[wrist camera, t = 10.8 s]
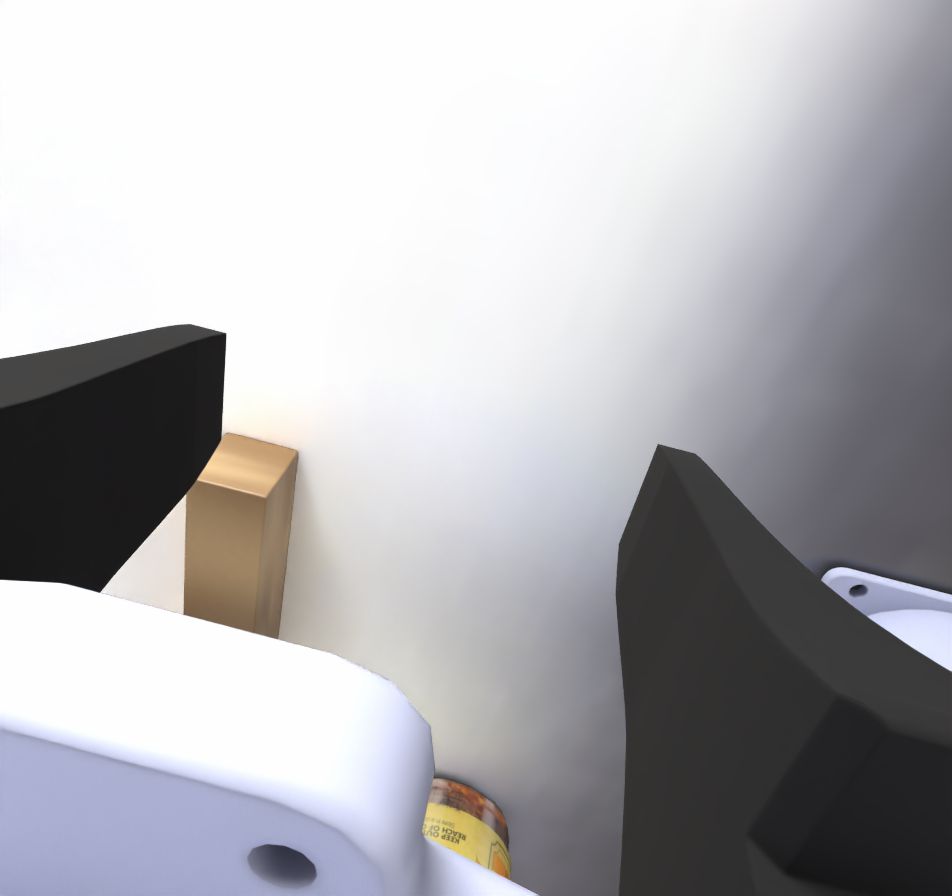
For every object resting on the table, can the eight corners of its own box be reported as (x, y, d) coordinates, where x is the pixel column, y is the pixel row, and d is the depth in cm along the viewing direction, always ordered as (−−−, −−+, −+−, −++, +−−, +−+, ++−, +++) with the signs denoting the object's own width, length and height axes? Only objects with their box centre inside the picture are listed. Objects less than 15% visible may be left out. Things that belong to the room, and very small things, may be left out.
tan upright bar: (296, 833, 34) (273, 894, 32) (168, 798, 34) (135, 858, 32) (353, 464, 24) (326, 512, 22) (172, 417, 24) (125, 460, 22)
